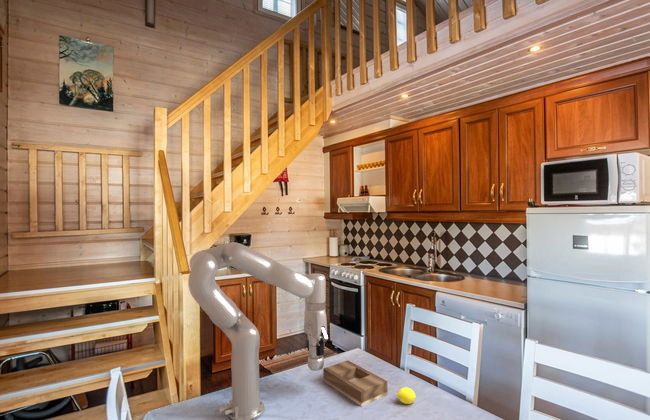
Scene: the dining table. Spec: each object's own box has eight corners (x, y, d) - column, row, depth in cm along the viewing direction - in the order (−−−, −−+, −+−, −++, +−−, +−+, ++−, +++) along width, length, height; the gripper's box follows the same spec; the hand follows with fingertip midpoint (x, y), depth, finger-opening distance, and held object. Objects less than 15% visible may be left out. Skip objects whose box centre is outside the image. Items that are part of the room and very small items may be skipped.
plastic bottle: (324, 365, 140) (324, 315, 141) (323, 373, 134) (323, 320, 134) (308, 365, 141) (308, 314, 142) (306, 372, 134) (306, 319, 135)
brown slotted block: (361, 406, 127) (361, 391, 127) (323, 380, 146) (323, 368, 146) (387, 394, 134) (387, 381, 134) (348, 372, 154) (348, 360, 154)
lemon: (412, 399, 131) (414, 385, 131) (417, 407, 126) (418, 392, 126) (394, 398, 131) (395, 383, 131) (397, 406, 125) (399, 391, 126)
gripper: (296, 302, 143) (296, 348, 142) (320, 312, 129) (320, 362, 128) (312, 300, 147) (312, 344, 147) (336, 309, 133) (336, 357, 133)
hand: (315, 352), depth 138 cm, fingers closed on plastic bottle, 5 cm apart
